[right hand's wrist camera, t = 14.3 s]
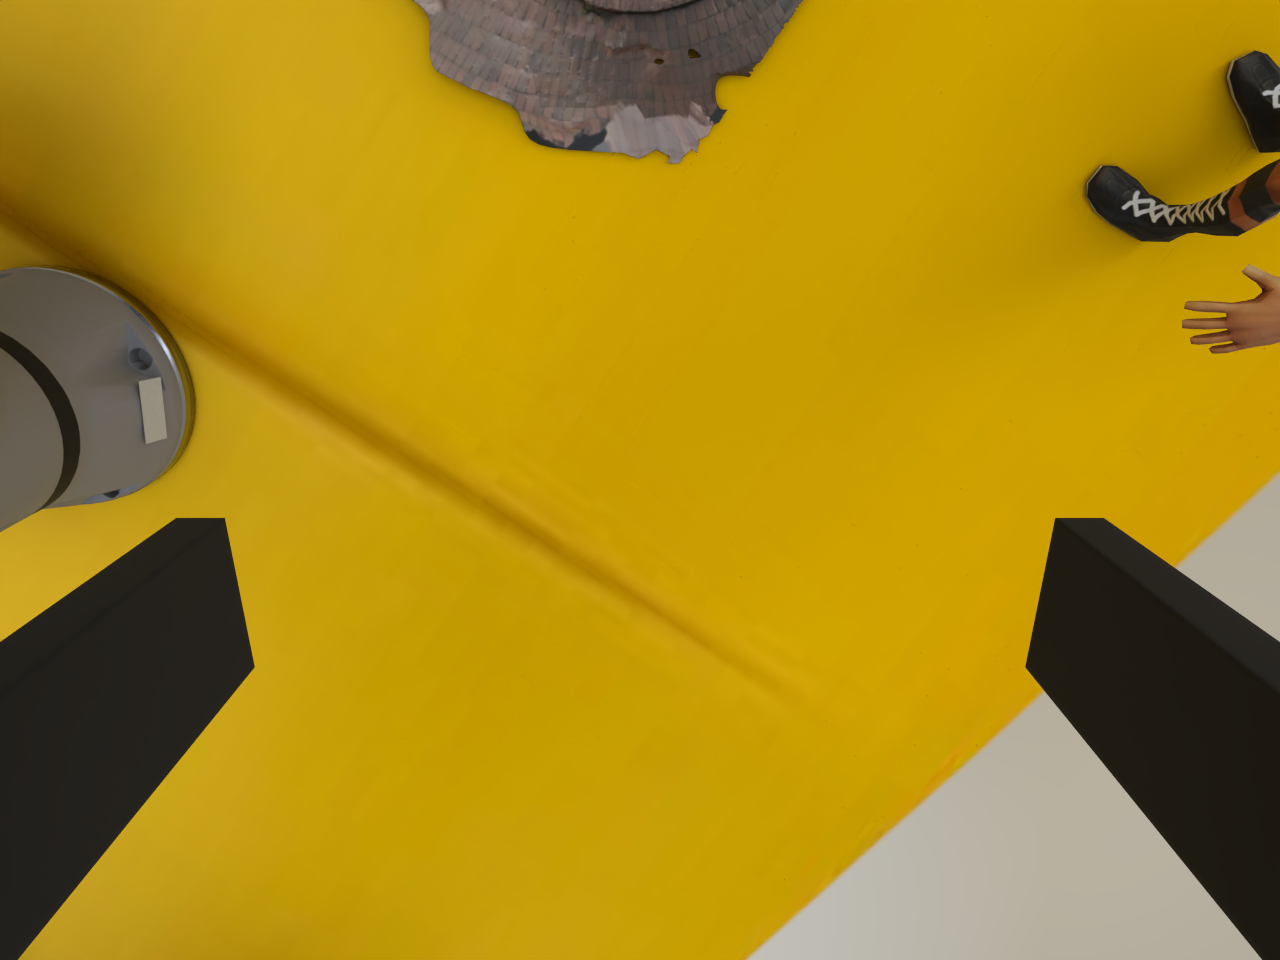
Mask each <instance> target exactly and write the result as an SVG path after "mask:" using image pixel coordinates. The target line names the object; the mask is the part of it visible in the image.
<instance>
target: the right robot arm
mask: <svg viewBox="0 0 1280 960" xmlns="http://www.w3.org/2000/svg"><path fill="white" fill-rule="evenodd" d="M194 414H195V401H194V392H193V387H192V382H191V378H190V375H189V371H188V368H187V366H186V363H185V361H184V358H183V356H182V354H181V352H180V350H179V348H178V347H177V345H176V343H175V342H174V340H173V338H172V337H171V335H170V334H169V333H168V331H167V330H166V329H165V327H164V326H163V325H162V324H161V322H160V321H159V320H158V319H157V318H156V317H155V316H154V315H153V314H152V313H151V312H150V311H149V310H148V309H147V308H146V307H145V306H144V305H143V304H142V303H140V302H139V301H138V300H137V299H136V298H134V297H133V296H132V295H130V294H129V293H127V292H126V291H124V290H123V289H121V288H119V287H118V286H116V285H114V284H113V283H111V282H109V281H107V280H105V279H102V278H100V277H98V276H95V275H93V274H90V273H87V272H84V271H80V270H77V269H72V268H67V267H60V266H31V267H22V268H14V269H8V270H4V271H0V532H1V531H3V530H5V529H7V528H8V527H10V526H12V525H14V524H16V523H18V522H19V521H21V520H23V519H25V518H27V517H28V516H30V515H32V514H34V513H36V512H38V511H40V510H41V509H47V508H57V507H66V506H75V505H81V504H93V503H100V502H106V501H110V500H114V499H117V498H120V497H123V496H127V495H129V494H132V493H134V492H136V491H138V490H140V489H142V488H144V487H145V486H147V485H149V484H150V483H152V482H154V481H155V480H157V479H159V478H160V477H161V476H163V475H164V474H165V473H166V472H168V471H169V470H170V469H171V468H172V467H173V466H174V464H175V463H176V462H177V461H178V460H179V458H180V456H181V455H182V453H183V452H184V450H185V448H186V446H187V444H188V441H189V438H190V435H191V432H192V428H193V423H194ZM254 667H255V666H254V662H253V657H252V652H251V647H250V642H249V637H248V632H247V627H246V622H245V617H244V612H243V607H242V602H241V597H240V592H239V587H238V582H237V577H236V572H235V567H234V562H233V557H232V552H231V547H230V542H229V537H228V532H227V527H226V522H225V518H176V519H174V520H173V521H171V522H170V523H169V524H167V525H166V526H164V527H163V528H161V529H160V530H159V531H157V532H156V533H154V534H153V535H151V536H150V537H149V538H147V539H146V540H144V541H143V542H142V543H140V544H139V545H137V546H136V547H134V548H133V549H132V550H130V551H129V552H127V553H126V554H125V555H123V556H122V557H120V558H119V559H117V560H116V561H115V562H113V563H112V564H110V565H109V566H107V567H106V568H105V569H103V570H102V571H100V572H99V573H98V574H96V575H95V576H93V577H92V578H90V579H89V580H88V581H86V582H85V583H83V584H82V585H80V586H79V587H78V588H76V589H75V590H73V591H72V592H71V593H69V594H68V595H66V596H65V597H63V598H62V599H61V600H59V601H58V602H56V603H55V604H54V605H52V606H51V607H49V608H48V609H46V610H45V611H44V612H42V613H41V614H39V615H38V616H36V617H35V618H34V619H32V620H31V621H29V622H28V623H27V624H25V625H24V626H22V627H21V628H19V629H18V630H17V631H15V632H14V633H12V634H11V635H9V636H8V637H7V638H5V639H4V640H2V641H1V642H0V960H18V959H19V957H20V956H21V955H22V954H23V952H24V951H25V950H26V949H27V948H28V946H29V945H30V944H31V943H32V941H33V940H34V939H35V938H36V936H37V935H38V934H39V933H40V932H41V930H42V929H43V928H44V927H45V925H46V924H47V923H48V922H49V920H50V919H51V918H52V917H53V915H54V914H55V913H56V912H57V911H58V909H59V908H60V907H61V906H62V904H63V903H64V902H65V901H66V899H67V898H68V897H69V896H70V894H71V893H72V892H73V891H74V890H75V888H76V887H77V886H78V885H79V883H80V882H81V881H82V880H83V878H84V877H85V876H86V875H87V873H88V872H89V871H90V870H91V869H92V867H93V866H94V865H95V864H96V862H97V861H98V860H99V859H100V857H101V856H102V855H103V854H104V852H105V851H106V850H107V849H108V848H109V846H110V845H111V844H112V843H113V841H114V840H115V839H116V838H117V836H118V835H119V834H120V833H121V832H122V830H123V829H124V828H125V827H126V825H127V824H128V823H129V822H130V820H131V819H132V818H133V817H134V815H135V814H136V813H137V812H138V811H139V809H140V808H141V807H142V806H143V804H144V803H145V802H146V801H147V799H148V798H149V797H150V796H151V794H152V793H153V792H154V791H155V790H156V788H157V787H158V786H159V785H160V783H161V782H162V781H163V780H164V778H165V777H166V776H167V775H168V773H169V772H170V771H171V770H172V769H173V767H174V766H175V765H176V764H177V762H178V761H179V760H180V759H181V757H182V756H183V755H184V754H185V753H186V751H187V750H188V749H189V748H190V746H191V745H192V744H193V743H194V741H195V740H196V739H197V738H198V736H199V735H200V734H201V733H202V732H203V730H204V729H205V728H206V727H207V725H208V724H209V723H210V722H211V720H212V719H213V718H214V717H215V715H216V714H217V713H218V712H219V711H220V709H221V708H222V707H223V706H224V704H225V703H226V702H227V701H228V699H229V698H230V697H231V696H232V694H233V693H234V692H235V691H236V690H237V688H238V687H239V686H240V685H241V683H242V682H243V681H244V680H245V678H246V677H247V676H248V675H249V673H250V672H251V671H252V670H253V669H254ZM1025 667H1026V669H1027V670H1028V671H1029V672H1030V674H1031V675H1032V676H1033V677H1034V678H1035V680H1036V681H1037V682H1038V683H1039V685H1040V686H1041V687H1042V688H1043V690H1044V691H1045V692H1046V693H1047V694H1048V696H1049V697H1050V698H1051V699H1052V701H1053V702H1054V703H1055V704H1056V706H1057V707H1058V708H1059V709H1060V711H1061V712H1062V713H1063V714H1064V715H1065V717H1066V718H1067V719H1068V720H1069V722H1070V723H1071V724H1072V725H1073V727H1074V728H1075V729H1076V730H1077V732H1078V733H1079V734H1080V735H1081V736H1082V738H1083V739H1084V740H1085V741H1086V743H1087V744H1088V745H1089V746H1090V748H1091V749H1092V750H1093V751H1094V752H1095V754H1096V755H1097V756H1098V757H1099V759H1100V760H1101V761H1102V762H1103V764H1104V765H1105V766H1106V767H1107V769H1108V770H1109V771H1110V772H1111V773H1112V775H1113V776H1114V777H1115V778H1116V780H1117V781H1118V782H1119V783H1120V785H1121V786H1122V787H1123V788H1124V789H1125V791H1126V792H1127V793H1128V794H1129V796H1130V797H1131V798H1132V799H1133V801H1134V802H1135V803H1136V804H1137V806H1138V807H1139V808H1140V809H1141V811H1142V812H1143V813H1144V814H1145V815H1146V817H1147V818H1148V819H1149V820H1150V822H1151V823H1152V824H1153V825H1154V826H1155V828H1156V829H1157V830H1158V832H1159V833H1160V834H1161V835H1162V836H1163V838H1164V839H1165V840H1166V841H1167V843H1168V844H1169V845H1170V846H1171V848H1172V849H1173V850H1174V851H1175V852H1176V854H1177V855H1178V856H1179V857H1180V859H1181V860H1182V861H1183V862H1184V864H1185V865H1186V866H1187V867H1188V868H1189V870H1190V871H1191V872H1192V873H1193V875H1194V876H1195V877H1196V878H1197V880H1198V881H1199V882H1200V883H1201V884H1202V886H1203V887H1204V888H1205V890H1206V891H1207V892H1208V893H1209V894H1210V896H1211V897H1212V898H1213V899H1214V901H1215V902H1216V903H1217V904H1218V906H1219V907H1220V908H1221V909H1222V910H1223V912H1224V913H1225V914H1226V915H1227V917H1228V918H1229V919H1230V920H1231V922H1232V923H1233V924H1234V925H1235V927H1236V928H1237V929H1238V930H1239V931H1240V933H1241V934H1242V935H1243V936H1244V938H1245V939H1246V940H1247V941H1248V943H1249V944H1250V945H1251V946H1252V948H1253V949H1254V950H1255V951H1256V952H1257V954H1258V955H1259V956H1260V957H1261V959H1262V960H1280V642H1279V641H1278V640H1276V639H1275V638H1273V637H1272V636H1270V635H1269V634H1268V633H1266V632H1265V631H1263V630H1262V629H1260V628H1259V627H1258V626H1256V625H1255V624H1253V623H1252V622H1251V621H1249V620H1248V619H1246V618H1245V617H1244V616H1242V615H1241V614H1239V613H1238V612H1236V611H1235V610H1234V609H1232V608H1231V607H1229V606H1228V605H1226V604H1225V603H1224V602H1222V601H1221V600H1219V599H1218V598H1216V597H1215V596H1214V595H1212V594H1211V593H1209V592H1208V591H1207V590H1205V589H1204V588H1202V587H1201V586H1200V585H1198V584H1197V583H1195V582H1194V581H1192V580H1191V579H1190V578H1188V577H1187V576H1185V575H1184V574H1182V573H1181V572H1180V571H1178V570H1177V569H1175V568H1174V567H1173V566H1171V565H1170V564H1168V563H1167V562H1165V561H1164V560H1163V559H1161V558H1160V557H1158V556H1157V555H1155V554H1154V553H1153V552H1151V551H1150V550H1148V549H1147V548H1146V547H1144V546H1143V545H1141V544H1140V543H1138V542H1137V541H1136V540H1134V539H1133V538H1131V537H1130V536H1129V535H1127V534H1126V533H1124V532H1123V531H1121V530H1120V529H1119V528H1117V527H1116V526H1114V525H1113V524H1111V523H1110V522H1109V521H1107V520H1106V519H1104V518H1055V522H1054V527H1053V532H1052V537H1051V542H1050V547H1049V552H1048V557H1047V562H1046V567H1045V572H1044V577H1043V582H1042V587H1041V592H1040V597H1039V602H1038V607H1037V612H1036V617H1035V622H1034V627H1033V632H1032V637H1031V642H1030V647H1029V652H1028V657H1027V662H1026V666H1025Z"/></svg>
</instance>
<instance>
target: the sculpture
mask: <svg viewBox="0 0 1280 960" xmlns="http://www.w3.org/2000/svg"><path fill="white" fill-rule="evenodd" d="M413 1H415V2H416V3H417V4H418V5H420V6H421V7H422V8H423V10H424V11H425V12H426V14H427V16H428V18H429V21H430V56H431V61H432V65H433V67H434V68H435V70H436V71H437V72H439V73H441V74H443V75H445V76H447V77H449V78H451V79H453V80H455V81H457V82H459V83H461V84H463V85H465V86H467V87H469V88H472V89H474V90H477V91H480V92H482V93H485V94H487V95H490V96H492V97H495V98H497V99H499V100H501V101H504V102H506V103H508V104H509V105H511V106H512V107H514V108H515V109H516V110H517V112H518V113H519V116H520V118H521V121H522V124H523V127H524V130H525V132H526V134H527V135H528V137H529V138H530V139H531V140H533V141H534V142H536V143H538V144H540V145H544V146H548V147H553V148H561V149H569V150H584V151H600V152H618V153H625V154H627V155H630V156H633V157H635V158H638V159H639V158H641V157H643V156H645V155H647V154H648V153H650V152H652V151H654V150H658V151H660V152H663V153H665V154H667V155H669V156H670V157H669V162H668V163H679V162H681V161H682V157H683V156H684V155H685V154H686V153H688V152H689V151H690V150H691V149H693V150H694V151H695V152H696V153H697V147H698V145H699V141H698V140H699V139H701V138H703V137H705V136H708V134H709V132H710V130H711V128H712V126H713V125H714V124H716V123H718V122H720V120H721V118H722V116H723V115H724V113H725V112H726V111H727V110H722V109H720V108H719V107H718V105H717V102H716V98H715V86H716V83H717V80H718V79H719V78H720V77H722V76H726V75H739V76H747V77H749V76H750V75H751V74H750V73H749V72H750V71H753V69H752V68H753V67H754V66H755V65H756V64H757V63H759V62H760V61H761V60H762V59H763V57H764V56H765V54H766V53H767V51H768V48H769V47H771V46H772V44H773V43H774V40H775V38H776V36H777V35H778V34H779V33H780V32H781V30H782V29H783V28H784V27H783V25H784V24H785V23H787V22H789V18H791V17H792V15H793V14H794V12H795V11H796V10H795V8H797V7H799V6H798V5H799V4H800V3H801V2H802V1H803V0H413ZM689 49H694V50H695V51H697V52H698V53H699V54H700V56H701V57H700V58H690V57H689V55H688V51H689ZM657 58H660V59H662V60H663V61H664V63H663V64H661V65H657V64H655V62H654V60H655V59H657Z"/></svg>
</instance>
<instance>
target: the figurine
mask: <svg viewBox="0 0 1280 960" xmlns="http://www.w3.org/2000/svg"><path fill="white" fill-rule="evenodd" d="M1227 81H1228V85H1229V89H1230V93H1231V96H1232V98H1233V100H1234V102H1235V104H1236V106H1237V108H1238V110H1239V112H1240V113H1241V115H1242V117H1243V119H1244V121H1245V123H1246V126H1247V128H1248V131H1249V133H1250V136H1251V138H1252V140H1253V143H1254V145H1255V147H1256V150H1257V151H1258V152H1261V153H1270V152H1280V68H1279V67H1278V66H1277V65H1276V64H1275V62H1274V61H1273V60H1272V59H1271V58H1270V57H1269V56H1268V55H1267V54H1265V53H1262V52H1259V51H1252V52H1250V53H1248V54H1245V55H1243V56H1241V57H1239V58H1237V59H1235V60H1233V61H1231V64H1230V67H1229V70H1228V74H1227ZM1086 197H1087V199H1088V200H1089V202H1090V204H1091V206H1092V208H1093V210H1094V211H1095V213H1096V214H1098V215H1099V216H1100V217H1101V218H1102V219H1104V220H1105V221H1106V222H1107V223H1109V224H1111V225H1112V226H1114V227H1116V228H1118V229H1120V230H1121V231H1123V232H1125V233H1127V234H1128V235H1130V236H1132V237H1134V238H1135V239H1138V240H1140V241H1154V242H1170V241H1172V240H1174V239H1175V238H1177V237H1180V236H1182V235H1185V234H1187V233H1195V232H1197V233H1203V234H1210V235H1216V236H1239V235H1241V234H1243V233H1245V232H1247V231H1249V230H1251V229H1253V228H1255V227H1257V226H1259V225H1261V224H1263V223H1264V222H1266V221H1268V220H1270V219H1272V218H1274V217H1275V216H1276V215H1277V214H1278V213H1279V212H1280V159H1279V160H1277V161H1275V162H1272V163H1270V164H1268V165H1266V166H1265V167H1263V168H1261V169H1260V170H1258V171H1257V172H1255V173H1253V174H1252V175H1251V176H1249V177H1248V178H1246V179H1245V180H1244V181H1242V182H1241V183H1239V184H1237V185H1235V186H1233V187H1232V188H1230V189H1228V190H1226V191H1224V192H1222V193H1220V194H1218V195H1215V196H1213V197H1211V198H1209V199H1206V200H1203V201H1200V202H1197V203H1194V204H1191V205H1167V204H1165V203H1164V202H1163V201H1161V200H1160V199H1159V198H1157V197H1155V196H1152V195H1150V194H1149V193H1148V192H1147V191H1146V190H1145V189H1144V187H1143V186H1142V185H1141V184H1140V183H1139V181H1138V180H1136V179H1135V178H1134V177H1132V176H1131V175H1129V174H1128V173H1126V172H1125V171H1123V170H1122V169H1121V168H1119V167H1118V166H1104V165H1103V166H1100V167H1099V168H1098V169H1097V170H1096V172H1095V173H1094V174H1093V175H1092V177H1091V178H1090V179H1089V181H1088V182H1087V195H1086ZM1242 272H1243V273H1244V274H1245V275H1246V276H1247V277H1249V278H1250V279H1251V280H1253V281H1255V282H1256V283H1257V284H1258V285H1259V286H1260V287H1261V289H1262V293H1261V294H1260V295H1258V296H1257V297H1256V298H1255V299H1251V300H1247V301H1242V302H1236V303H1226V302H1212V301H1188V302H1185V308H1184V309H1188V310H1192V311H1201V312H1220V313H1226V317H1222V318H1205V319H1185V320H1182V328H1187V329H1224V328H1225V329H1228V330H1226V331H1221V332H1217V333H1209V334H1202V335H1196V336H1193V337H1191V338H1190V341H1191V344H1199V345H1200V344H1212V343H1220V342H1226V341H1233V342H1234V343H1230V344H1224V345H1217V346H1212V347H1211V348H1209V350H1210V351H1211V353H1228V352H1233V351H1237V350H1241V349H1246V348H1252V347H1258V346H1264V345H1271V344H1275V343H1279V342H1280V278H1279V277H1276V276H1273V275H1271V274H1268V273H1266V272H1264V271H1262V270H1260V269H1258V268H1256V267H1254V266H1252V265H1250V264H1249V265H1248V266H1247V267H1246V268H1245V269H1244V270H1243V271H1242Z"/></svg>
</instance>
